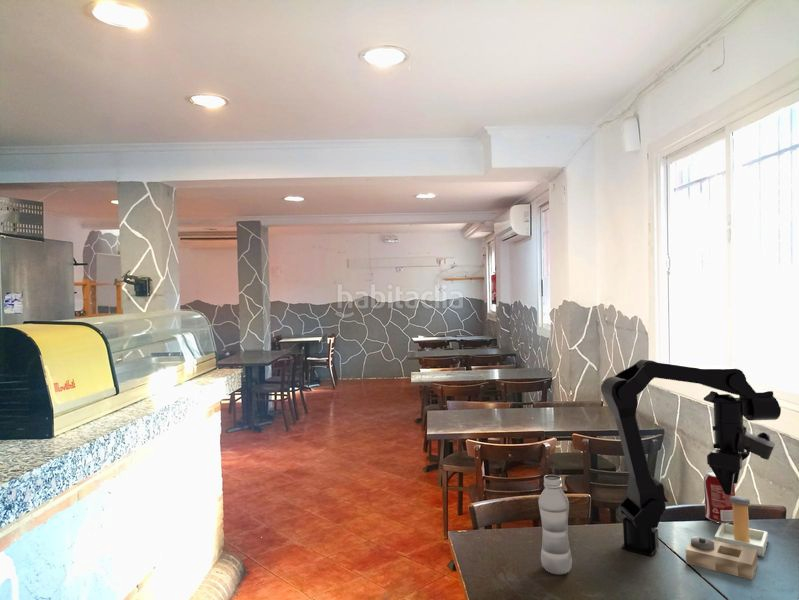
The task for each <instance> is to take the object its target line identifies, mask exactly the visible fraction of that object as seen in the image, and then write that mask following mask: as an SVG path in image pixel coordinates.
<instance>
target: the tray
mask: <svg viewBox="0 0 799 600" xmlns="http://www.w3.org/2000/svg"><path fill="white" fill-rule="evenodd" d="M749 538H750V543H748V542H744V541H739V540H734V526H733V524H732V523H731V524H726V523H721V524H719V527H718V529H717V530H716V533H715V535H714V541H719V542H723V543H728V544H732V545H737V546H741V547H746V548H750V549H755V550H757V557H764V556H765V554H764V553H766V551H767V547H766V546H768V544H767V542H768V543H769V536H768V531H765V530H759V529H754V528H750V527H749Z"/></svg>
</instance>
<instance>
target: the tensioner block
mask: <svg viewBox="0 0 799 600" xmlns="http://www.w3.org/2000/svg"><path fill="white" fill-rule="evenodd" d="M758 562H759V561H758V556H757V550H755V549H750V548H746V547H741V546H737V545H732V544H728V543H723V542H719V541H715V539H710V538H709V539H708V538H705V537H700V536H696V535H693V537H692V538H691V539H690V542H688V545H687V546H686V548H685V564H687V565H692V566H695V567H700V568H704V569H708V570H712V571H716V572H719V573H724V574H728V575H731V576H736V577H739V578H743V579H746V580H752V581H754V577H755V575H756V571H757V568H758V565H759V563H758Z"/></svg>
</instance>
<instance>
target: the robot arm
mask: <svg viewBox="0 0 799 600" xmlns="http://www.w3.org/2000/svg"><path fill="white" fill-rule="evenodd" d="M654 379H663V380H670V381H677V382H683V383H684V382H685V383H691V384H699V385H702V386H705V387H708V388H710V389H714V390H717V391H720V392H721V391H722V392H725V393H721V394H720V393H718V392H717V391H713V390H711V391H710V392H709V393H708V394H707V395H706V396H704V397H703V401H705V402H708V403H712V404H713V419H714V421H713V425H712V431H714V443H712V444H713V450H711V451H710V452H709V453H708V454H707V455H706V462H707V463H706V464H707V465H709V468H710V470H713V472H714V474H715V476H716V478H717V479H718V481H719V483H720V485H721V487H722V489H723V491H724V493H725V494H726V495H731V492H732V486H733V483H734V484H735V485H736V484H737V485H738V482H739V476H740V473H741V469H742V468H743V461H744V460H745V459H747V458H748V457H749V456H750V453H751V454H754V455H756V456H759V457H760V458H761V459H763V460H766V461H767V460H769V459H770V457H771V455H772V452H773V450H774V448H775V446H776V445H775V444H776V443H775V442H774V441H773V440H772V441H771V438H770V434H769V433H767V432H764V431H761V432H760V433H758V434H755V433H753V434H752V433H750V432H747V426H746V425H745V424H744V418H745V419H746V420H747V421H749V422H750V421H776V420H778V419H779V418H780V416H781V413H782V408H781V406H780V404H779V402H778V400H777V398H776V397H775V396H774V391H772V390H769V389H762V390H754V388H753V386H751V384H750V382H748V381H747V377H746V374H745V373H744V372H743V370H741V369H738V368H735V367H729V366H723V365H706V366H697V367H696V366H689V365H682V364H681V365H680V364H675V363H667V362H660V361H654V360H651V359H645V358H643V359H640V360H638V361H637V362H635V363H634V364H633V365H631V366H629V367H627V368H625V369H623V370H622V371H620V372H618V373H617V374H615V375H614V376H610V377H607V378H606V379H604V380H603V382H602V383H601V385H600V391H601V394H602V396H603V399H604V401H605V403H606V405H607V407H608V409H609V410H610V412H611V413H612V415H613V417H614V420H615V424H616V427H617V432H618V435H619V440H620V442H621V443H620V444H621V447H622V451H623V454H624V458H625V459H624V460H625V462H626V463H625V465H626V467H627V472H628V480H627V485H626V486H627V496H626V497H625V498H624V499H623V500H622V501H621V502H620V503H619V505H618V509H619V511H620V514H621V515H623V516H624V518H623V519H622V530H623V533H622V535H623V544H622V545H621V549H622V550H626V551H630V552H634V553H638V554H641V555H646V556H648V557H649V556H650V557H651V556H653V554H654V553H655V551H657V549H658V548H659V543H660V542H659V529H658V526H659V523H660V520H661V517H662V515H663V513H664V512H665V511H666V503H668V502H669V500H668V499H667V498H666V496H665V487H664V485H663V483H661V482H660V481H658V480H657V479H655V478H654V477H653V476H652V475H651V471H650V468H649V464H648V459H647V457H646V453H645V448H644V444H643V441H642V437H641V436H642V435H641V432H640V428H639V424H638V420H637V410H638V404H639V403H638V402H639V401H638V395H639V394H640V393H641V392H643V391H644V390H645V389H646V388H647V387H648V385H649V384H650V383H651V381H653V380H654ZM728 393H729V394H728ZM734 395H735V396H738V397H734Z"/></svg>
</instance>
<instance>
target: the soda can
mask: <svg viewBox="0 0 799 600" xmlns="http://www.w3.org/2000/svg"><path fill="white" fill-rule="evenodd" d="M705 474H706V475H704V477H703V491H704V494H703V495H704V514H705V518H707V519H708V520H710V521H711V522H713V521H714V522H713V523H715V522H719V523H731V524H733V505H732V502H730V497H731V496H736V488H735V487H736V486H735V485H736V484H735V483H733V486H732V492H731V495H726V494H725V493H724V491H723V489H722V487H721V485H720V483H719V481H718V479H717V478H716V476H715V474H714V472H713V470H712V469H709V470H706V472H705ZM719 523H718V524H719Z"/></svg>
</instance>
